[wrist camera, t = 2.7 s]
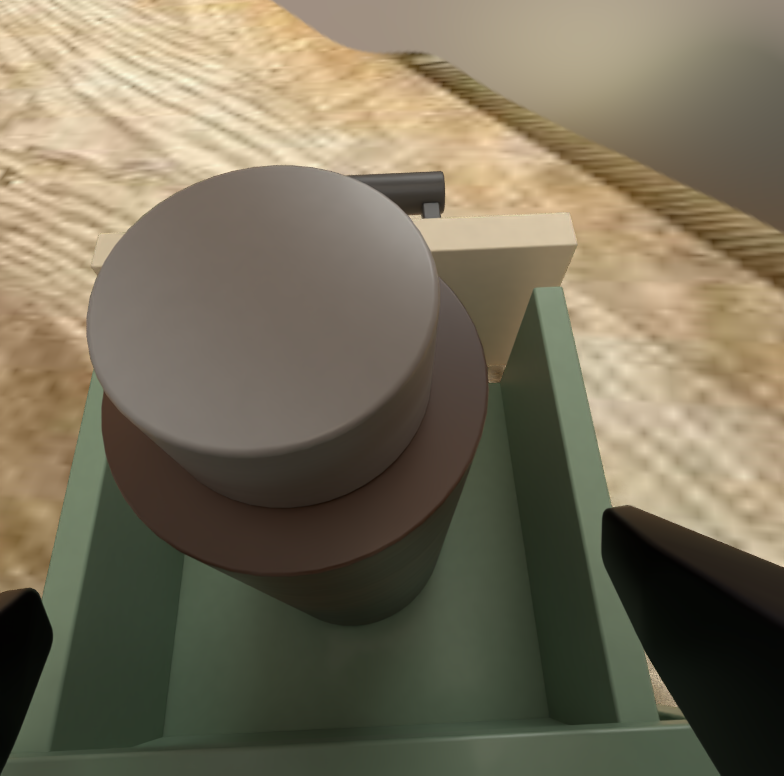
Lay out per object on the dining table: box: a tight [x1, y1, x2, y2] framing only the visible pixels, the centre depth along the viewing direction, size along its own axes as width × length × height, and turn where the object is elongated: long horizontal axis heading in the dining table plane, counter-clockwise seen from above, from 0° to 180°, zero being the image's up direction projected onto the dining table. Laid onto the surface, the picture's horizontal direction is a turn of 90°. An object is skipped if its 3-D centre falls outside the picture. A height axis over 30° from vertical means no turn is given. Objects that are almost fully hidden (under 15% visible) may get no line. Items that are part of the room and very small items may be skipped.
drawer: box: [11, 171, 660, 753], centre depth 16 cm, size 18×13×7 cm
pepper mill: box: [87, 165, 489, 626], centre depth 11 cm, size 5×5×12 cm
